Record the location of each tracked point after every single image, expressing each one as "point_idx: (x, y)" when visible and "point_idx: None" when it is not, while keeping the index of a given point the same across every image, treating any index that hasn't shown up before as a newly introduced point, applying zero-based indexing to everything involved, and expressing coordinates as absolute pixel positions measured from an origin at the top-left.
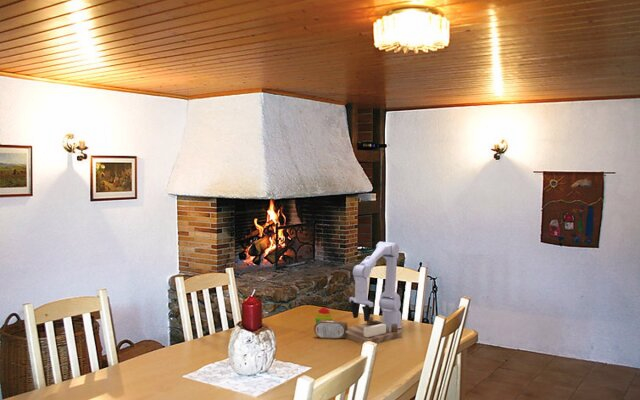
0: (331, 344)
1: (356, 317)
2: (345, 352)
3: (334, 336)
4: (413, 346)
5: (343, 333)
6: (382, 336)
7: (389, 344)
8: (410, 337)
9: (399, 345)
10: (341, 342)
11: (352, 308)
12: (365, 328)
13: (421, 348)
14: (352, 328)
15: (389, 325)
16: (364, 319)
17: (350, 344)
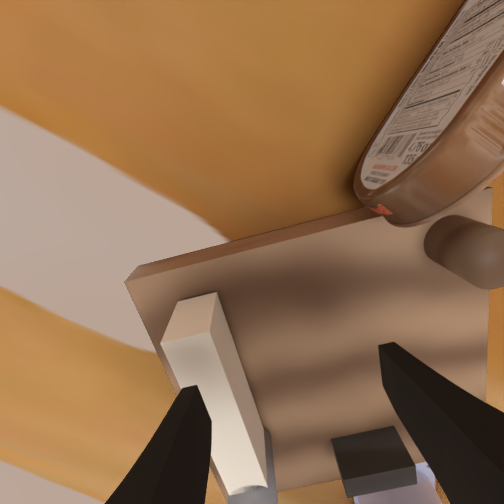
0: (261, 4)
1: (382, 373)
2: (6, 14)
3: (397, 112)
4: (61, 453)
5: (360, 183)
6: (178, 393)
7: (126, 377)
8: (207, 496)
9: (94, 410)
10: (276, 122)
11: (492, 451)
12: (187, 334)
13: (21, 467)
14: (444, 310)
15: (374, 501)
16: (185, 400)
17: (203, 164)
